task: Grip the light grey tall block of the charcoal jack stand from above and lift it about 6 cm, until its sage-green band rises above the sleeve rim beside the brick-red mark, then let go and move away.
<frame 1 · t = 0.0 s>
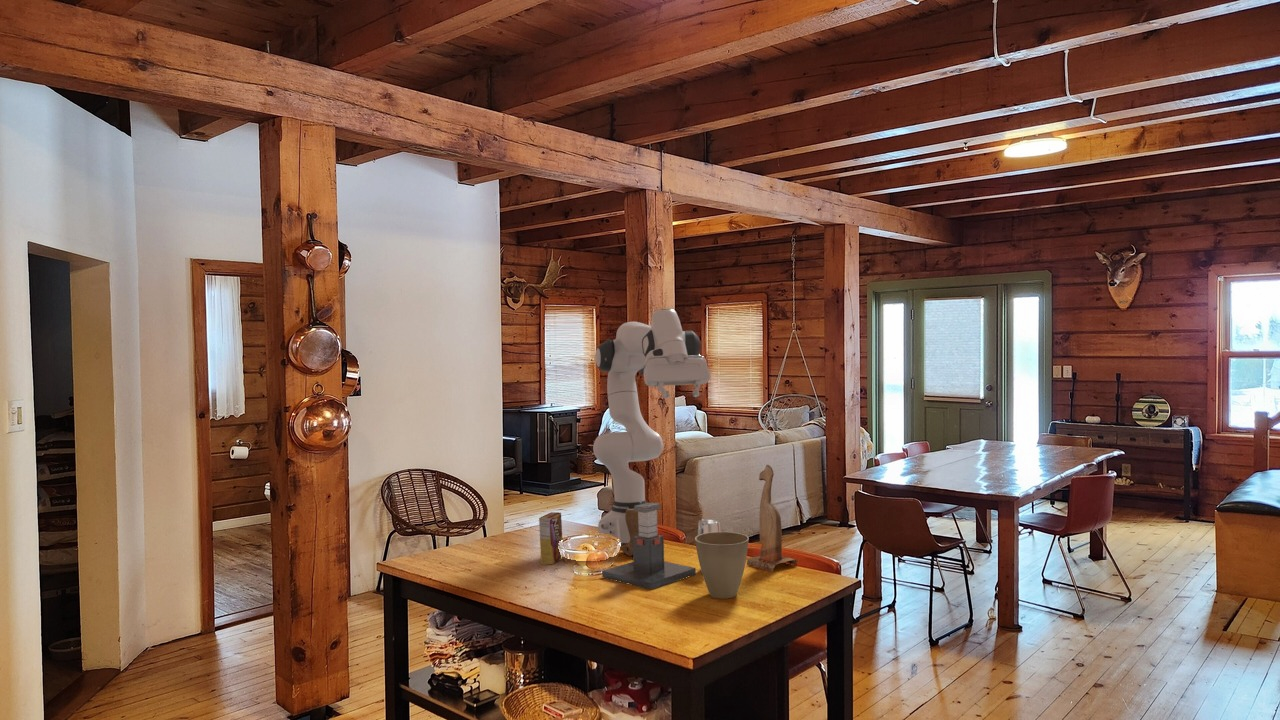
hand: (681, 396, 243), 54 cm above the table, tool tilted 30°, fingers open, 8 cm apart
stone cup: (639, 552, 279), on the table
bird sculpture: (772, 566, 257), on the table
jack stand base: (649, 576, 248), on the table
candy box: (552, 561, 269), on the table
plant pot: (723, 595, 228), on the table
light grey tall block: (648, 536, 248), point 12 cm above the table, slide at 0.0 cm
beer glass: (710, 570, 254), on the table
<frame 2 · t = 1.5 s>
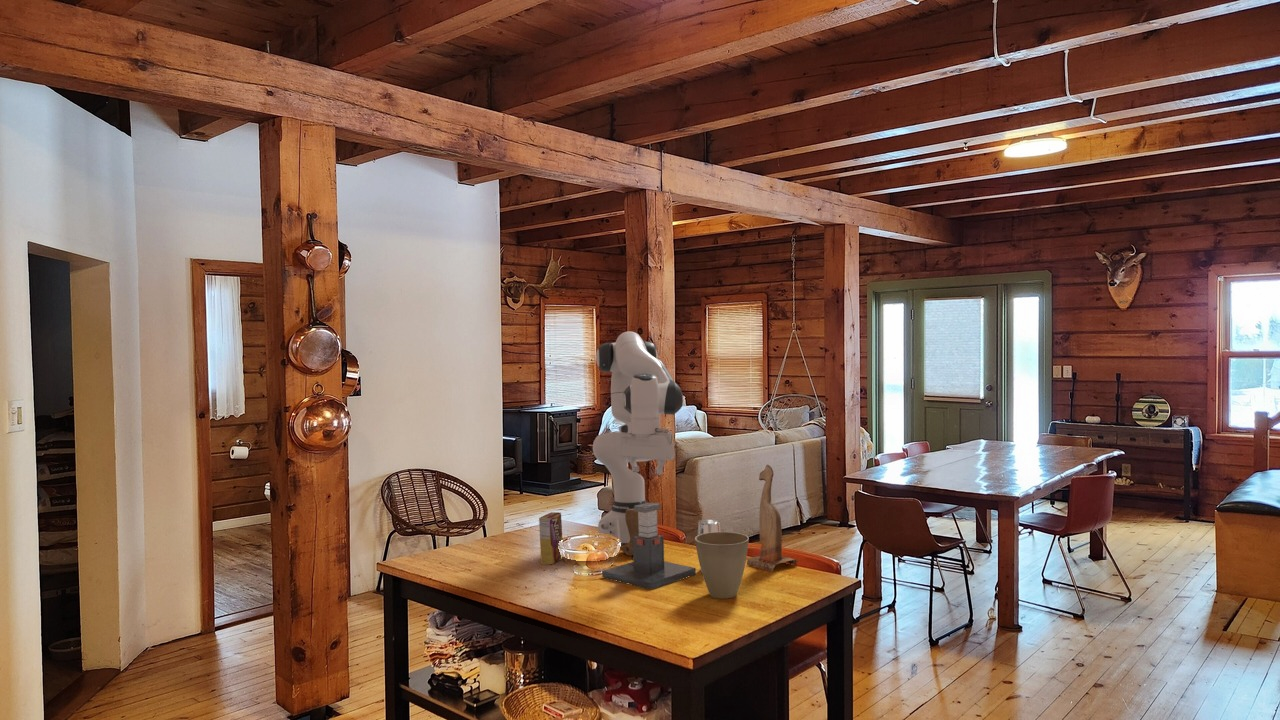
hand: (647, 473, 248), 31 cm above the table, tool pointing down, fingers open, 8 cm apart
nothing on the table moved.
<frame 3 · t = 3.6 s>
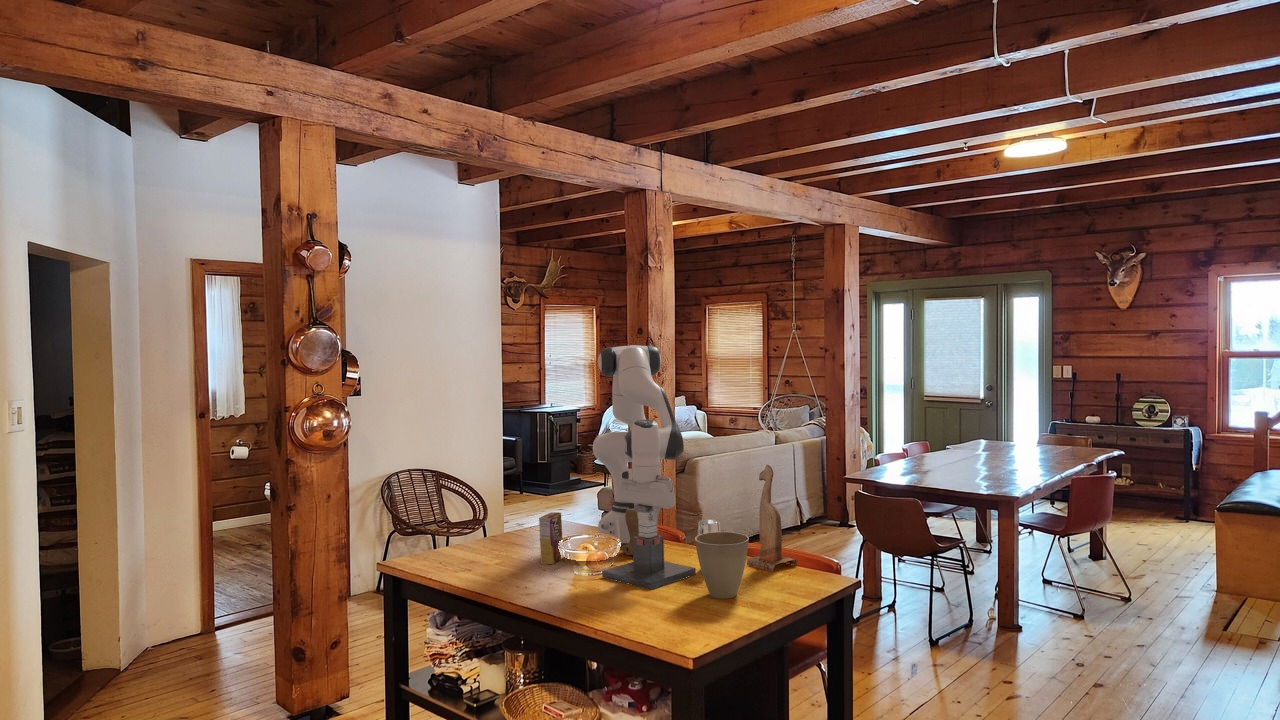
hand: (647, 519, 248), 17 cm above the table, tool pointing down, fingers closed on light grey tall block, 4 cm apart
light grey tall block: (648, 536, 248), point 12 cm above the table, slide at 0.0 cm, touching gripper
everything else where it was.
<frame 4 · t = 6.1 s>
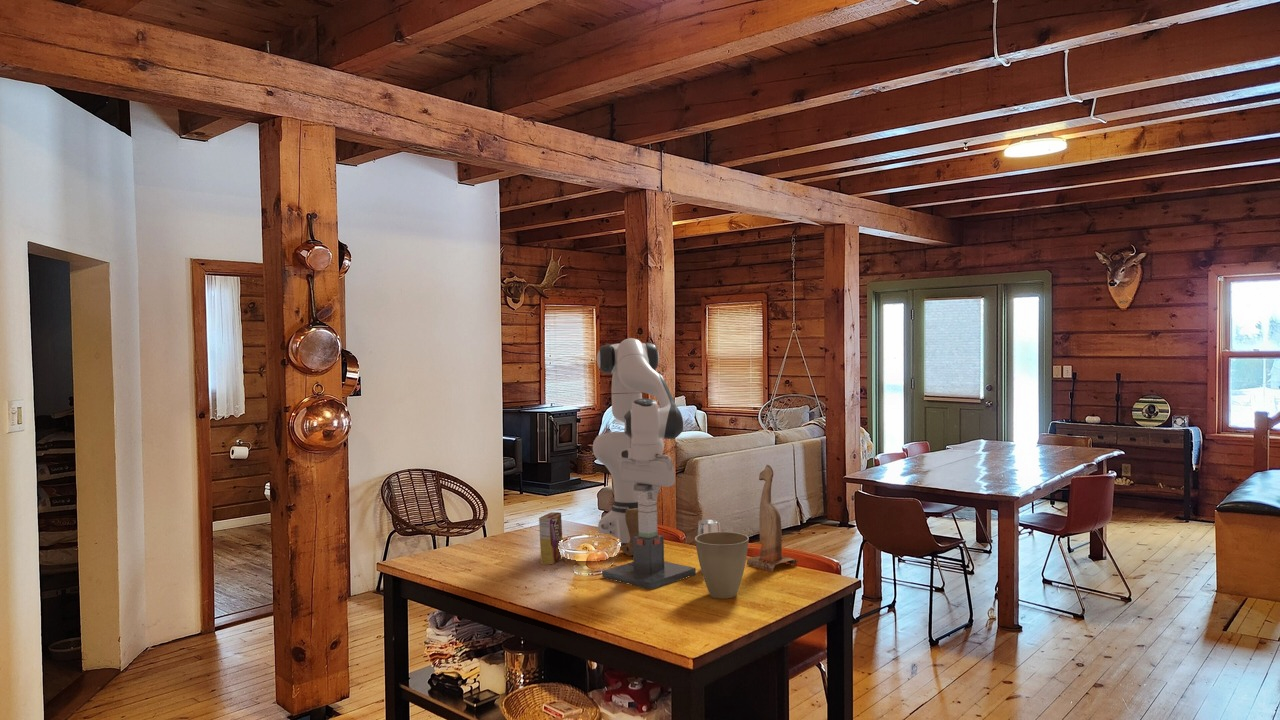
hand: (647, 498, 248), 24 cm above the table, tool pointing down, fingers closed on light grey tall block, 4 cm apart
light grey tall block: (647, 515, 248), point 18 cm above the table, slide at 6.3 cm, touching gripper
everything else where it was.
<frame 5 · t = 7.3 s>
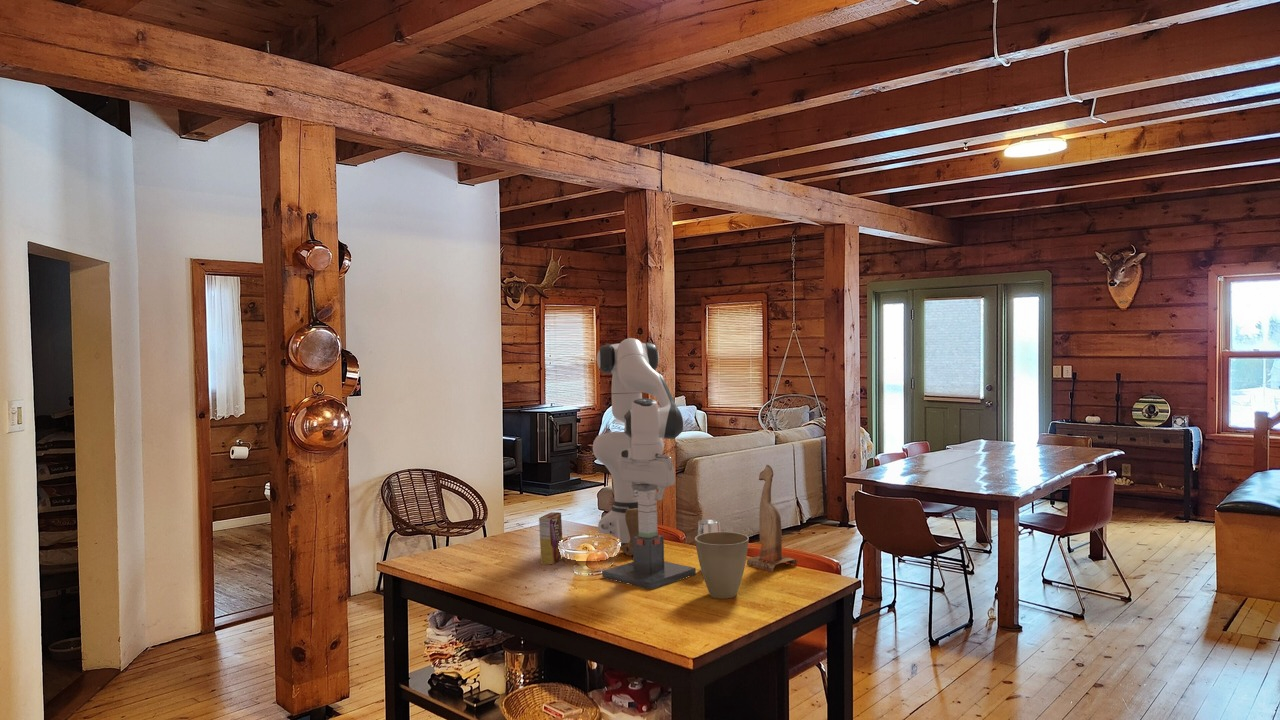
hand: (647, 498, 248), 24 cm above the table, tool pointing down, fingers open, 8 cm apart
light grey tall block: (647, 515, 248), point 18 cm above the table, slide at 6.3 cm
everything else where it was.
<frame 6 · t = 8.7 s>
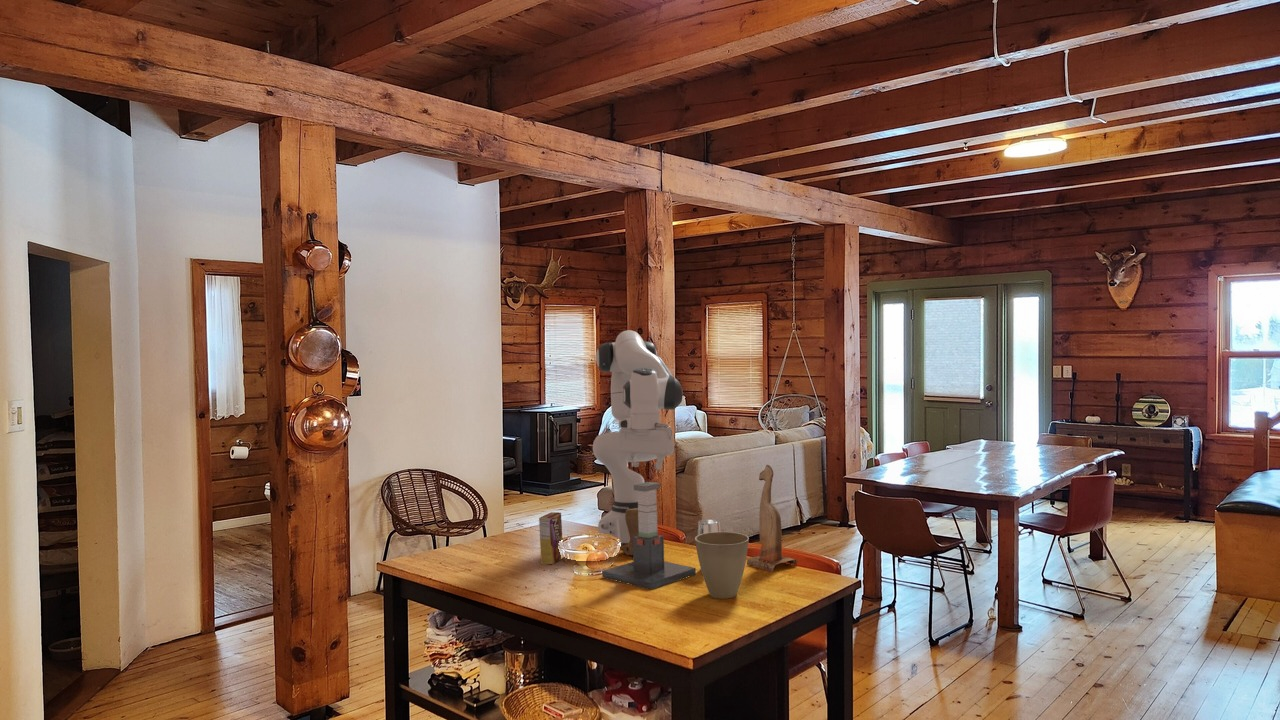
hand: (646, 468, 248), 33 cm above the table, tool pointing down, fingers open, 8 cm apart
nothing on the table moved.
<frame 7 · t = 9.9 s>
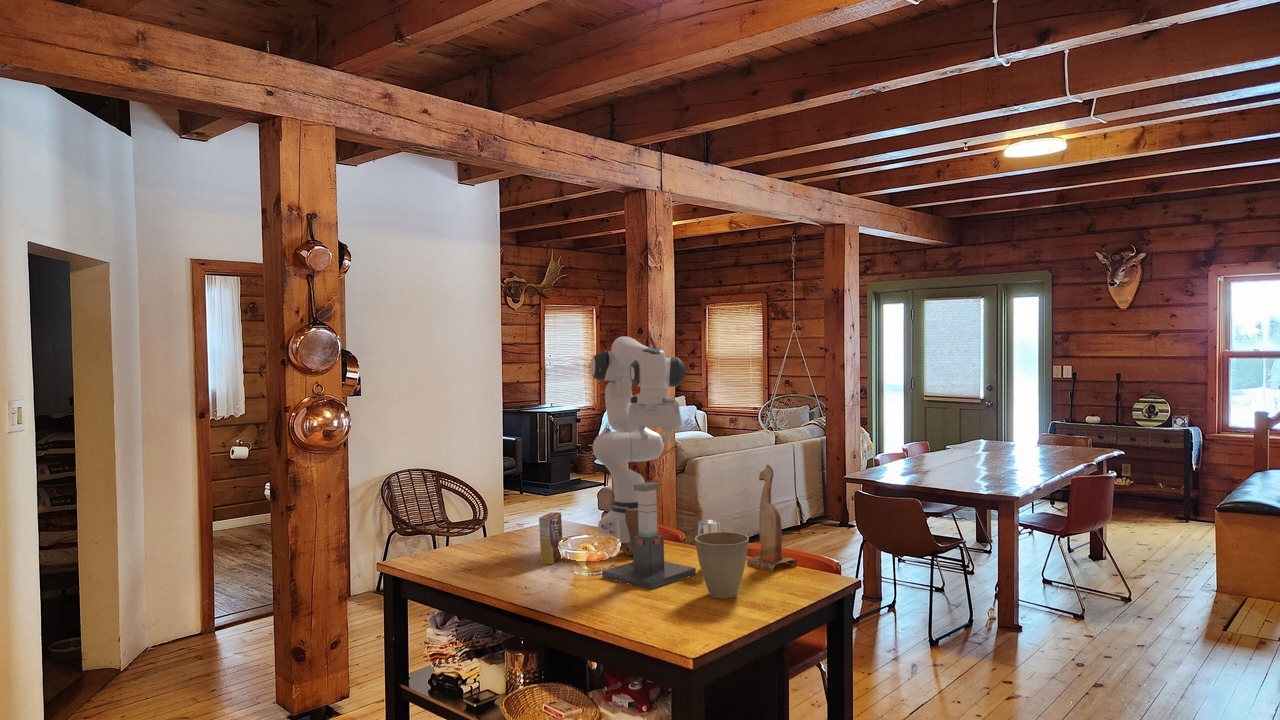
hand: (655, 441, 265), 39 cm above the table, tool pointing down, fingers open, 8 cm apart
nothing on the table moved.
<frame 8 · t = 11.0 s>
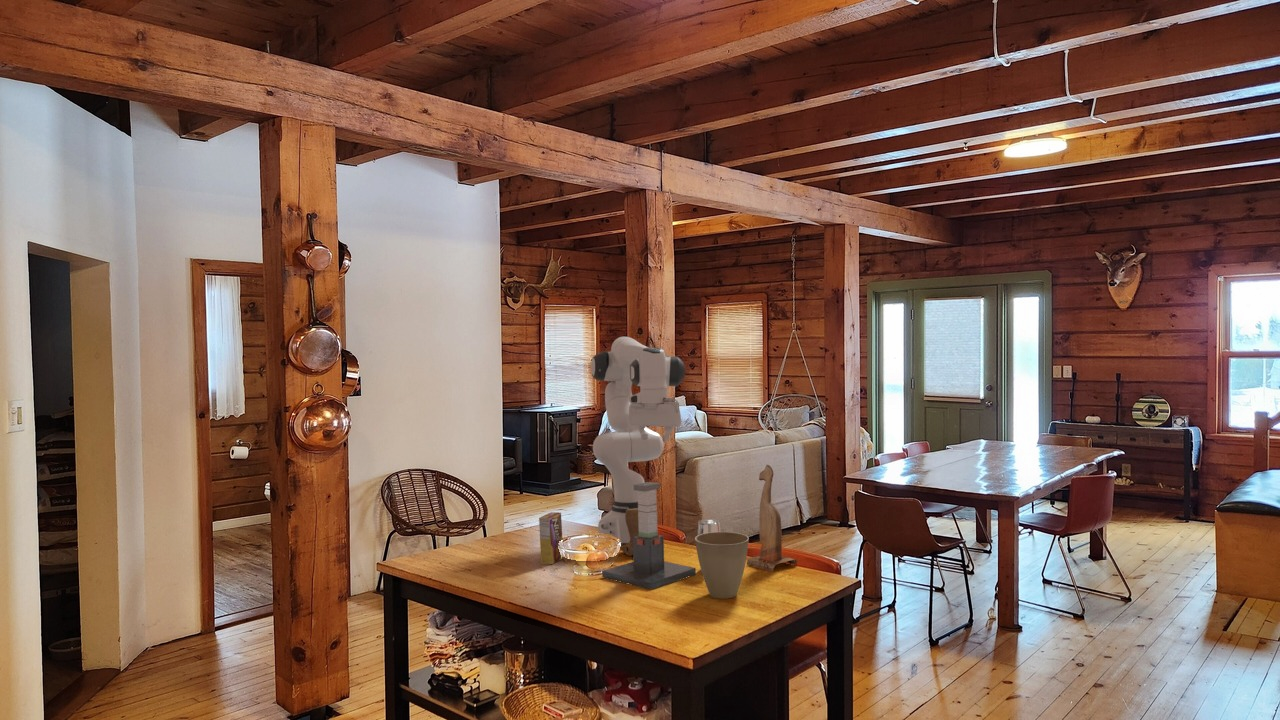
hand: (655, 440, 265), 39 cm above the table, tool pointing down, fingers open, 8 cm apart
nothing on the table moved.
at the end: light grey tall block slide at 6.3 cm; the gripper is holding nothing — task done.
